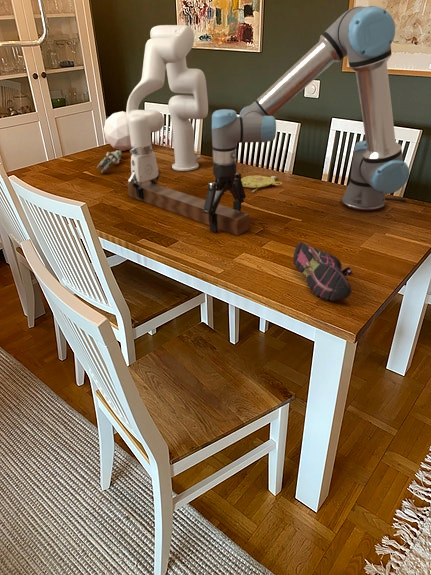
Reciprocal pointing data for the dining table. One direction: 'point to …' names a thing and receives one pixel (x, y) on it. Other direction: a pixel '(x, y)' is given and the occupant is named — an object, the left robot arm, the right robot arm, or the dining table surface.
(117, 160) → the figurine
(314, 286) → the athletic shoe
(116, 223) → the dining table surface
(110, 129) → the sphere
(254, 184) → the decorative object
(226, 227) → the beam
